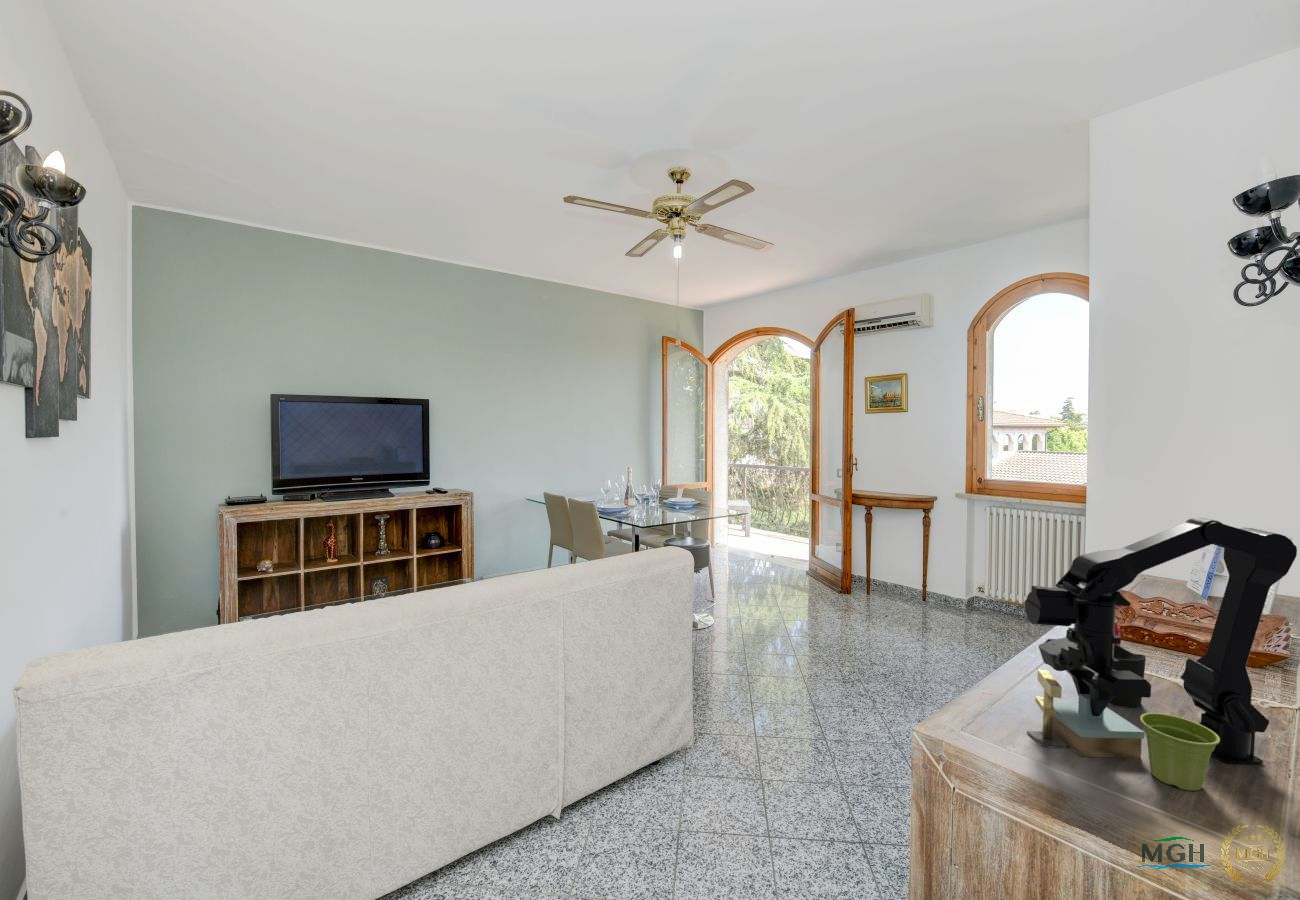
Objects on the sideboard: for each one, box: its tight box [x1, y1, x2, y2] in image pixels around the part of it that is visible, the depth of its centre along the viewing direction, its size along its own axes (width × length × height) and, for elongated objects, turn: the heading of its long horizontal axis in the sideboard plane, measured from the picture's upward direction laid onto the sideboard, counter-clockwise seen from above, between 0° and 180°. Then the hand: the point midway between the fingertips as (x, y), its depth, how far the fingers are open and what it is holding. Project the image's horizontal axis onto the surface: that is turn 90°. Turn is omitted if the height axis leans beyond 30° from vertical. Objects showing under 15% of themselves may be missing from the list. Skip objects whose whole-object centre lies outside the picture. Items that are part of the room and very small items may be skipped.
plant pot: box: [1139, 712, 1220, 792], centre depth 92 cm, size 9×9×9 cm
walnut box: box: [1026, 716, 1143, 759], centre depth 103 cm, size 15×10×4 cm
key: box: [1034, 669, 1063, 740], centre depth 104 cm, size 8×2×11 cm, turn 162°
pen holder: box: [1108, 645, 1147, 708], centre depth 119 cm, size 9×9×10 cm
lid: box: [1053, 694, 1145, 739], centre depth 103 cm, size 10×10×5 cm
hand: (1090, 712), depth 103 cm, fingers closed on lid
